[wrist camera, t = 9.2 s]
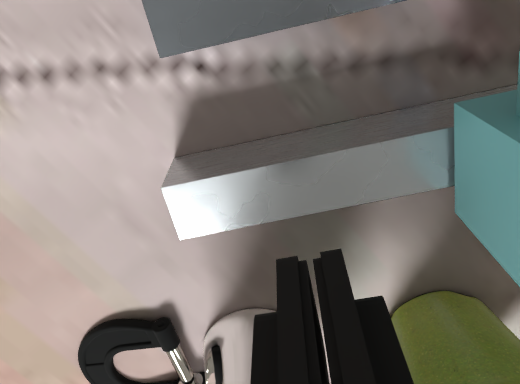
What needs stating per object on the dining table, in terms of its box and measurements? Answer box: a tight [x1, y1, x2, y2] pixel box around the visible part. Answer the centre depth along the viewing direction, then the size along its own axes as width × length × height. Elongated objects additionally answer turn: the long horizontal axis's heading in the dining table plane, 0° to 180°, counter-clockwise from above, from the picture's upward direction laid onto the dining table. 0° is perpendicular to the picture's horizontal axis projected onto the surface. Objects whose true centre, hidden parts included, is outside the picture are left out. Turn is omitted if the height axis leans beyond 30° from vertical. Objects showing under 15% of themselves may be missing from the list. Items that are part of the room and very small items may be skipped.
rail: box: [161, 84, 518, 240], centre depth 17 cm, size 26×2×3 cm, turn 102°
